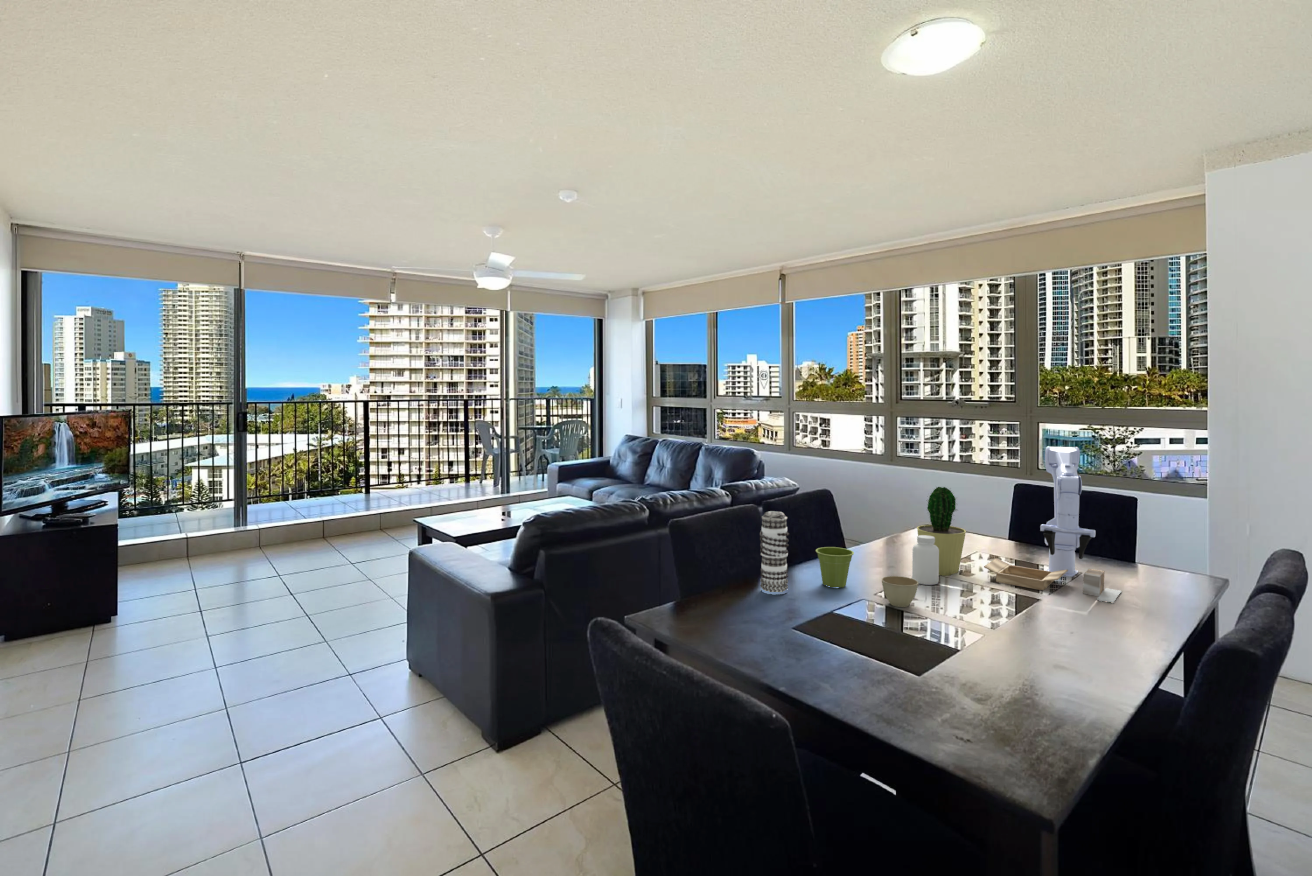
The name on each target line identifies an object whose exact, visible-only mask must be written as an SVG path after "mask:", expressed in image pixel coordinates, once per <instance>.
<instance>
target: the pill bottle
mask: <svg viewBox="0 0 1312 876" xmlns="http://www.w3.org/2000/svg"><path fill="white" fill-rule="evenodd" d="M934 542H935V537H933V536H927V535H919V536H918V535H917V536H916V543H915V544H914V545H913V546H912V549H911V550H912V552H911V553H912V554H911V555H912V559H911V560H912V561H911V564H912V565H911V568H912V569H911V570H912V571H911V572H912V573H911V578H912V579H915V580H916V581H918V585H925V586H933V585H937V584H939V579H940V577H939V576H940V575H939V549H938V547H937V546H936V545H934Z"/></svg>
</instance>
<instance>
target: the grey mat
mask: <svg viewBox="0 0 1312 876" xmlns="http://www.w3.org/2000/svg"><path fill="white" fill-rule="evenodd" d="M1120 593H1122V590H1119V589H1114V588H1107V587H1104V591H1103V592H1102V593H1101V594H1100V596H1097V597H1096V599H1095V601H1096V600H1099V601H1098V602H1102V601H1107V602H1113V603H1114V604H1115V602H1116V601H1117V599H1118V598H1119V597H1118V595H1119V594H1120ZM1120 595H1121V594H1120ZM1120 595H1119V596H1120ZM1117 597H1118V598H1117ZM1116 598H1117V599H1116ZM1115 600H1116V601H1115ZM1114 601H1115V602H1114ZM1107 602H1106V603H1107ZM1113 603H1112V604H1113Z"/></svg>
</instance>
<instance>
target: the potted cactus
mask: <svg viewBox="0 0 1312 876" xmlns="http://www.w3.org/2000/svg"><path fill="white" fill-rule="evenodd" d="M927 497H928V499H927V503H926V505H927V507H926V508H927V509H926V510H927V511H928V512H927V513H926V514H927V515H929V520H930V521H929V522H930V524H922V525H919V526H916V529H917V536H919V535H927V536H933V537H935V542H934V545H936V546H937V547H938V549H939V576H941V575H942V576H943V577H944V576H945V577H950V576H952V575H954V574H958V573H959V571H960V565H961V560H962V555H963V554H962V553H963V550H964V545H965V539H966V538H965V537H966V532H967V531H966V529H964V528H961V527H957V526H953V525H952V520H953V521H954V520H955V519H953V517H954V516H955V515H954V513H955V512H957V511H958V509H957V503H956V502H957V500H958V497H956V496H955V495H954V491H953V492H952V490H951V489H950V488H947V487H946V486H938V487H937V486H935V488H934V489H933V491H931V493H930V495H928V496H927ZM955 517H956V516H955Z"/></svg>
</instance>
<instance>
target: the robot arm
mask: <svg viewBox="0 0 1312 876" xmlns="http://www.w3.org/2000/svg"><path fill="white" fill-rule="evenodd" d="M1080 453H1081V451H1080V448H1079V447H1078V446H1049V445H1048V446H1046V447H1045V450H1044V461H1045V466H1044V467H1045V469H1046V470H1045V471H1046V472H1047V473H1049V474H1051V476H1052V479H1053V480H1052V481H1053V502H1054V503H1053V505H1054V517H1053V518H1052V519H1050V520H1048V521H1046V524H1044V523H1042V524H1040V526H1039V528H1040V530H1039V531H1040V532H1043V537H1044V543H1045V545H1046V546H1048V548H1049V549H1048V550H1049V551H1048V569H1047V570H1046V571H1051V572H1054V571H1060V570H1067V569H1068V571H1067V572H1066V573H1065V574H1064V575H1063V576H1066V577H1071V578H1072V577H1074V576H1075V575H1077V574H1078V573H1079V570H1076V552H1075V551H1076V550H1077V549H1078V550H1079V552H1078V559H1079V560H1083V557H1084V554H1085V551H1086V548H1087V545H1088V544H1089V542H1090V541H1091V539H1092V538H1095V537H1096V530H1095V529H1088V528H1082V527H1080V526H1079V522H1080V521H1079V519H1080V518H1079V516H1080V515H1079V514H1080V495H1081V494H1082V491H1083V481H1082V477H1081V475H1078V469H1079V464H1080V456H1081V454H1080Z"/></svg>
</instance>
